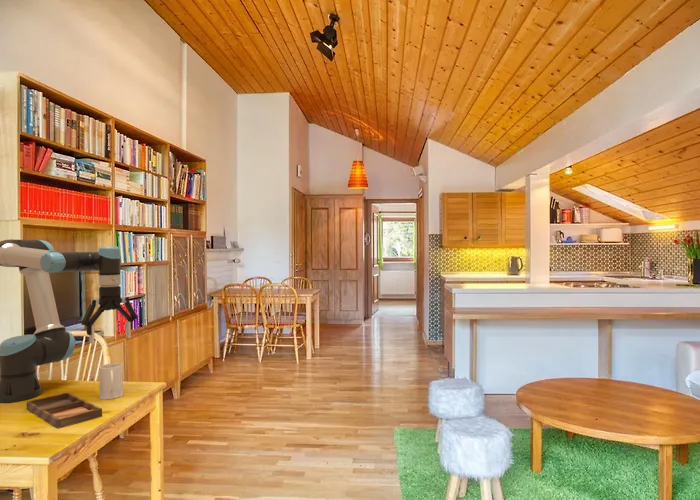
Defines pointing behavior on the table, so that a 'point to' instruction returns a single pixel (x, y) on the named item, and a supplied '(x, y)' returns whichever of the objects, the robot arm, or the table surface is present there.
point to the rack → (64, 409)
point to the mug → (110, 381)
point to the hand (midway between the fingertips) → (110, 340)
